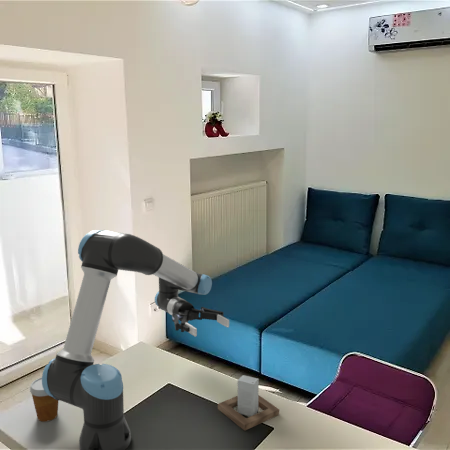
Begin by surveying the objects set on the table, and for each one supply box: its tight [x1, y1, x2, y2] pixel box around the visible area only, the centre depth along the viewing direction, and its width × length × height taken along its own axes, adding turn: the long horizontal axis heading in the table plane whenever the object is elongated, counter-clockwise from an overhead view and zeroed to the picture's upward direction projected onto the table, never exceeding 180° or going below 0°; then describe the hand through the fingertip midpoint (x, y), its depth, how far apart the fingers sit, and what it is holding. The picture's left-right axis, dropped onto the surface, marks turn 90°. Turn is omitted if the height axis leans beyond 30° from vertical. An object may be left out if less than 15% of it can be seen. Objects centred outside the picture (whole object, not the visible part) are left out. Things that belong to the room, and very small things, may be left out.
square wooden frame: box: [217, 394, 280, 431], centre depth 165 cm, size 15×15×2 cm
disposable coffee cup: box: [28, 376, 59, 423], centre depth 161 cm, size 10×10×12 cm
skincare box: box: [237, 375, 260, 417], centre depth 163 cm, size 6×4×12 cm
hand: (212, 328), depth 170 cm, fingers open, 13 cm apart
